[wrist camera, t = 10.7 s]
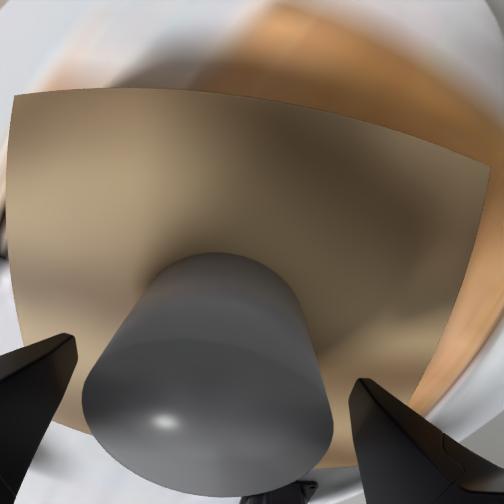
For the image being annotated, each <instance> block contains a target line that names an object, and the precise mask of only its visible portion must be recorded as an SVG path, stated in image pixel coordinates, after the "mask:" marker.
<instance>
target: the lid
mask: <svg viewBox="0 0 504 504" xmlns="http://www.w3.org/2000/svg"><path fill="white" fill-rule="evenodd" d="M490 169H491V167H489V166H487V165H485V164H483V163H480V162H478V161H476V160H474V159H471V158H469V157H467V156H464V155H462V154H459V153H457V152H454V151H452V150H449V149H447V148H444V147H442V146H439V145H436V144H434V143H431V142H428V141H425V140H423V139H420V138H417V137H414V136H411V135H408V134H405V133H402V132H399V131H396V130H393V129H390V128H386V127H383V126H380V125H376V124H373V123H369V122H366V121H362V120H358V119H355V118H351V117H347V116H343V115H339V114H335V113H331V112H327V111H322V110H318V109H313V108H308V107H304V106H299V105H294V104H288V103H283V102H277V101H271V100H265V99H259V98H252V97H245V96H238V95H230V94H222V93H212V92H202V91H190V90H176V89H155V88H92V89H73V90H59V91H48V92H38V93H30V94H22V95H15V96H14V102H13V108H12V115H11V122H10V131H9V140H8V152H7V168H6V227H7V243H8V255H9V265H10V273H11V281H12V288H13V294H14V300H15V306H16V312H17V317H18V322H19V327H20V331H21V336H22V340H23V344H24V347H25V346H28V345H31V344H33V343H36V342H39V341H41V340H44V339H47V338H49V337H52V336H55V335H57V334H60V333H68V334H71V335H73V336H74V337H75V339H76V345H77V351H78V362H77V365H76V367H75V370H74V372H73V374H72V377H71V379H70V382H69V384H68V387H67V389H66V392H65V394H64V397H63V399H62V401H61V403H60V405H59V407H58V409H57V411H56V412H55V414H54V416H53V418H52V421H54V422H57V423H59V424H62V425H64V426H67V427H70V428H73V429H75V430H78V431H81V432H84V433H87V434H90V435H93V434H92V432H91V431H90V429H89V427H88V425H87V423H86V420H85V417H84V414H83V409H82V390H83V386H84V382H85V380H86V378H87V376H88V374H89V373H90V371H91V369H92V368H93V366H94V365H95V363H96V362H97V360H98V359H99V357H100V356H101V354H102V352H103V351H104V349H105V348H106V346H107V345H108V343H109V342H110V340H111V339H112V337H113V336H114V334H115V333H116V332H117V330H118V329H119V327H120V326H121V324H122V323H123V321H124V320H125V318H126V317H127V315H128V314H129V313H130V311H131V310H132V308H133V307H134V305H135V304H136V303H137V301H138V300H139V298H140V297H141V295H142V294H143V293H144V291H145V290H146V288H147V287H148V286H149V284H150V283H151V282H152V281H153V279H154V278H155V277H156V276H157V275H158V274H159V273H160V272H161V271H162V270H164V269H165V268H166V267H168V266H169V265H171V264H173V263H174V262H176V261H179V260H181V259H183V258H186V257H189V256H192V255H196V254H202V253H216V252H221V253H231V254H236V255H240V256H244V257H247V258H250V259H253V260H255V261H257V262H259V263H261V264H263V265H265V266H267V267H268V268H270V269H271V270H273V271H274V272H276V273H277V274H278V275H279V276H280V277H281V278H282V279H283V280H284V281H285V282H286V283H287V284H288V285H289V287H290V288H291V289H292V291H293V292H294V294H295V295H296V297H297V299H298V301H299V304H300V306H301V309H302V312H303V316H304V319H305V322H306V326H307V329H308V332H309V336H310V339H311V342H312V346H313V349H314V352H315V356H316V359H317V363H318V366H319V369H320V373H321V376H322V380H323V383H324V387H325V390H326V394H327V397H328V401H329V405H330V408H331V412H332V416H333V421H334V433H333V437H332V442H331V444H330V446H329V449H328V451H327V452H326V454H325V455H324V457H323V458H322V460H321V461H320V462H319V463H318V464H317V465H316V466H315V467H314V468H338V467H353V466H358V462H357V457H356V453H355V449H354V444H353V438H352V430H351V421H350V413H349V405H348V400H349V396H350V393H351V391H352V389H353V387H354V384H355V382H356V380H357V379H358V378H371V379H372V380H373V381H375V382H376V383H377V384H379V385H380V386H381V387H383V388H384V389H385V390H387V391H388V392H389V393H391V394H392V395H393V396H395V397H396V398H397V399H399V400H400V401H401V402H403V403H404V404H405V405H407V404H408V402H409V400H410V399H411V397H412V395H413V393H414V391H415V390H416V388H417V386H418V384H419V382H420V380H421V378H422V376H423V374H424V372H425V370H426V368H427V366H428V364H429V362H430V360H431V358H432V356H433V354H434V352H435V350H436V347H437V345H438V343H439V341H440V338H441V336H442V334H443V332H444V329H445V327H446V324H447V322H448V320H449V317H450V315H451V312H452V309H453V307H454V304H455V302H456V299H457V296H458V293H459V291H460V288H461V285H462V282H463V279H464V276H465V273H466V270H467V267H468V263H469V260H470V257H471V253H472V250H473V246H474V243H475V239H476V235H477V232H478V228H479V224H480V220H481V215H482V211H483V206H484V202H485V197H486V192H487V186H488V181H489V175H490ZM93 436H94V435H93Z"/></svg>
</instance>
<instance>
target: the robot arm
mask: <svg viewBox="0 0 504 504" xmlns="http://www.w3.org/2000/svg"><path fill="white" fill-rule="evenodd" d="M77 362H78V351H77V345H76V339H75V337H74V336H73V335H71V334H68V333H60V334H57V335H55V336H52V337H49V338H47V339H44V340H41V341H39V342H36V343H33V344H31V345H28V346H25V347H23V348H20V349H17V350H14V351H12V352H9V353H6V354H4V355H1V356H0V504H14V501H15V499H16V496H17V494H18V491H19V489H20V486H21V484H22V482H23V479H24V477H25V475H26V472H27V470H28V468H29V466H30V464H31V461H32V459H33V457H34V455H35V453H36V451H37V449H38V446H39V444H40V442H41V440H42V438H43V436H44V434H45V432H46V430H47V428H48V426H49V424H50V422H51V420H52V418H53V416H54V414H55V412H56V411H57V409H58V407H59V405H60V403H61V401H62V399H63V397H64V394H65V392H66V389H67V387H68V384H69V382H70V379H71V377H72V374H73V372H74V370H75V367H76V365H77ZM348 405H349V413H350V421H351V430H352V438H353V444H354V449H355V453H356V457H357V462H358V466H359V471H360V475H361V480H362V484H363V489H364V494H365V498H366V503H367V504H504V469H503V468H501V467H498V466H497V465H495V464H493V463H491V462H489V461H488V460H486V459H484V458H482V457H481V456H479V455H477V454H475V453H474V452H472V451H470V450H469V449H467V448H466V447H464V446H462V445H461V444H459V443H458V442H456V441H455V440H453V439H452V438H451V437H449V436H448V435H446V434H445V433H443V432H442V431H441V430H439V429H438V428H437V427H435V426H434V425H433V424H431V423H430V422H428V421H427V420H426V419H424V418H423V417H422V416H420V415H419V414H418V413H416V412H415V411H413V410H412V409H411V408H409V407H408V406H407V405H405V404H404V403H403V402H401V401H400V400H399V399H397V398H396V397H395V396H393V395H392V394H391V393H389V392H388V391H387V390H385V389H384V388H383V387H381V386H380V385H379V384H377V383H376V382H375V381H373V380H372V379H371V378H358V379H357V380H356V382H355V384H354V387H353V389H352V391H351V393H350V396H349V400H348ZM317 488H318V484H317V482H292V483H290V484H288V485H285V486H283V487H280V488H278V489H275V490H272V491H268V492H264V493H260V494H255V495H249V496H241V499H240V502H239V504H307V502H308V501H309V500H310V498H311V497H312V495H313V494H314V492H315V491H316V489H317Z"/></svg>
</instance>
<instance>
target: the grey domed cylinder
mask: <svg viewBox="0 0 504 504" xmlns="http://www.w3.org/2000/svg"><path fill="white" fill-rule="evenodd" d="M82 409H83V414H84V417H85V420H86V423H87V425H88V427H89V429H90V431H91V432H92V434H93V435H94V437H95V438H96V440H97V441H98V443H99V444H100V445H101V446H102V447H103V448H104V449H105V451H106V452H107V453H109V454H110V455H111V456H112V457H113V458H114V459H115V460H116V461H118V462H119V463H120V464H121V465H123V466H124V467H126V468H127V469H129V470H130V471H132V472H133V473H135V474H137V475H139V476H140V477H142V478H144V479H146V480H148V481H151V482H153V483H155V484H158V485H160V486H163V487H166V488H169V489H172V490H176V491H179V492H183V493H188V494H193V495H199V496H208V497H241V496H249V495H255V494H260V493H264V492H268V491H272V490H275V489H278V488H280V487H283V486H285V485H288V484H290V483H292V482H294V481H296V480H297V479H299V478H301V477H302V476H304V475H305V474H307V473H308V472H309V471H310V470H312V469H313V468H314V467H315V466H316V465H317V464H318V463H319V462H320V461H321V460H322V458H323V457H324V455H325V454H326V452H327V451H328V449H329V446H330V444H331V442H332V437H333V433H334V421H333V416H332V412H331V408H330V405H329V401H328V397H327V394H326V390H325V387H324V383H323V380H322V376H321V373H320V369H319V366H318V363H317V359H316V356H315V352H314V349H313V346H312V342H311V339H310V336H309V332H308V329H307V326H306V322H305V319H304V316H303V312H302V309H301V306H300V304H299V301H298V299H297V297H296V295H295V294H294V292H293V291H292V289H291V288H290V287H289V285H288V284H287V283H286V282H285V281H284V280H283V279H282V278H281V277H280V276H279V275H278V274H277V273H276V272H274V271H273V270H271V269H270V268H268V267H267V266H265V265H263V264H261V263H259V262H257V261H255V260H253V259H250V258H247V257H244V256H240V255H236V254H231V253H221V252H216V253H202V254H196V255H192V256H189V257H186V258H183V259H181V260H179V261H176V262H174V263H173V264H171V265H169V266H168V267H166V268H165V269H164V270H162V271H161V272H160V273H159V274H158V275H157V276H156V277H155V278H154V279H153V281H152V282H151V283H150V284H149V286H148V287H147V288H146V290H145V291H144V293H143V294H142V295H141V297H140V298H139V300H138V301H137V303H136V304H135V305H134V307H133V308H132V310H131V311H130V313H129V314H128V315H127V317H126V318H125V320H124V321H123V323H122V324H121V326H120V327H119V329H118V330H117V332H116V333H115V334H114V336H113V337H112V339H111V340H110V342H109V343H108V345H107V346H106V348H105V349H104V351H103V352H102V354H101V356H100V357H99V359H98V360H97V362H96V363H95V365H94V366H93V368H92V369H91V371H90V373H89V374H88V376H87V378H86V380H85V382H84V386H83V390H82Z"/></svg>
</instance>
